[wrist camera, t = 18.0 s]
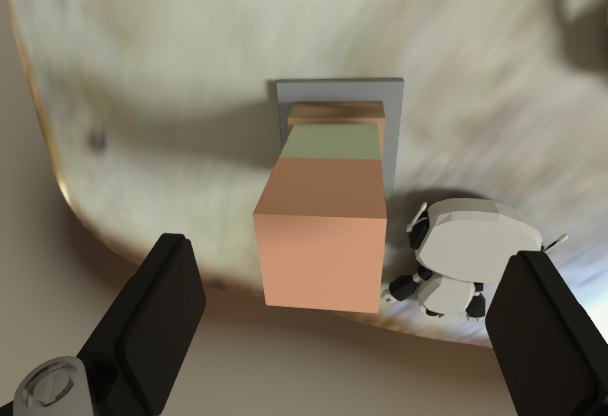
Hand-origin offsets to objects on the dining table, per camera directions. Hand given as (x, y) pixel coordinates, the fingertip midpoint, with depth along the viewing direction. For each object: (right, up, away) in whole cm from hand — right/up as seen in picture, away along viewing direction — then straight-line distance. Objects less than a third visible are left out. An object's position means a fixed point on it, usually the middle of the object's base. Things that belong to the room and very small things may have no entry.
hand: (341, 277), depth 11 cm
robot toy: (+14, -2, +26) cm, 30 cm away
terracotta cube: (0, +2, +12) cm, 12 cm away
